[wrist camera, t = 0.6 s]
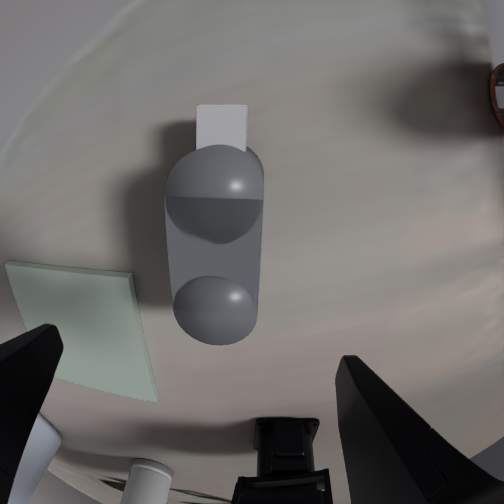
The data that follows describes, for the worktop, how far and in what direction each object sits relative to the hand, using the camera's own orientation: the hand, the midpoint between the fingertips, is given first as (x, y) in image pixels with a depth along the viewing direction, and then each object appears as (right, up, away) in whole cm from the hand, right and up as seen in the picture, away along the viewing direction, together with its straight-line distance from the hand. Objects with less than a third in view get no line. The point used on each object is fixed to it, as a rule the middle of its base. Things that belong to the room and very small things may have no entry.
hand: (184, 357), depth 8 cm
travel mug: (-13, -29, +27) cm, 42 cm away
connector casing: (0, +6, +11) cm, 12 cm away
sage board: (-14, -5, +16) cm, 22 cm away
